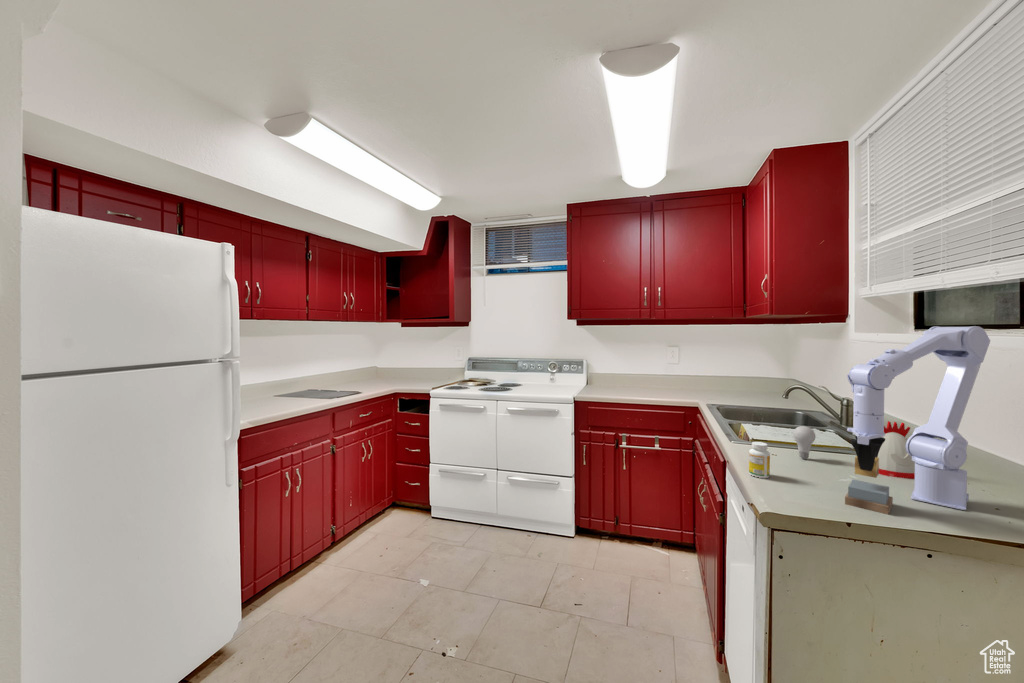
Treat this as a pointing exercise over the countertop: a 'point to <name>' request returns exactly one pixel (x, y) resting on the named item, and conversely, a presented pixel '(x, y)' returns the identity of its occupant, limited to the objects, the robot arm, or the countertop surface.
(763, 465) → the supplement bottle
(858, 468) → the ochre cube
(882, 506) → the tower base
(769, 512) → the countertop surface
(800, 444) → the lightbulb
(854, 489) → the tower top
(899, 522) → the countertop surface
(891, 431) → the kitchen timer
